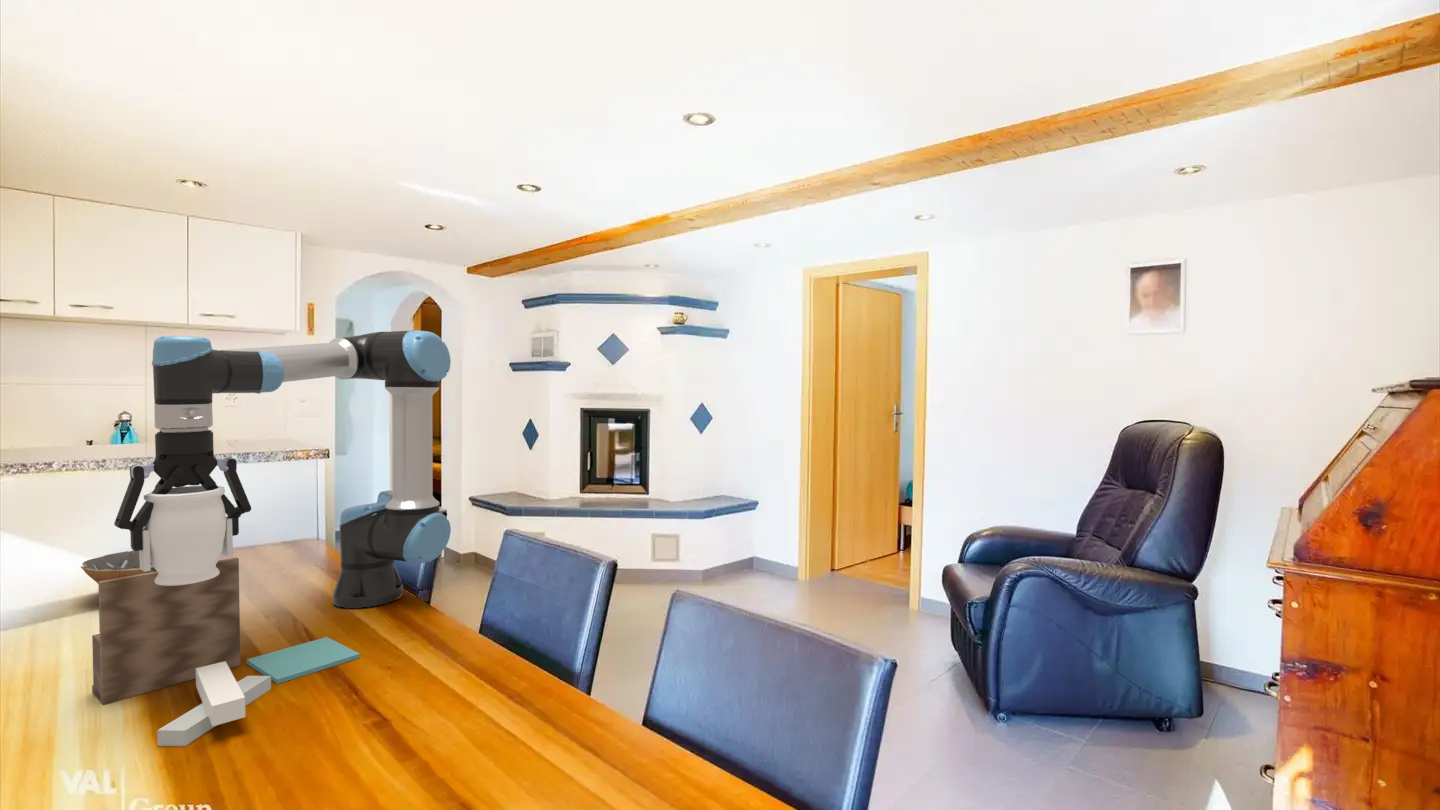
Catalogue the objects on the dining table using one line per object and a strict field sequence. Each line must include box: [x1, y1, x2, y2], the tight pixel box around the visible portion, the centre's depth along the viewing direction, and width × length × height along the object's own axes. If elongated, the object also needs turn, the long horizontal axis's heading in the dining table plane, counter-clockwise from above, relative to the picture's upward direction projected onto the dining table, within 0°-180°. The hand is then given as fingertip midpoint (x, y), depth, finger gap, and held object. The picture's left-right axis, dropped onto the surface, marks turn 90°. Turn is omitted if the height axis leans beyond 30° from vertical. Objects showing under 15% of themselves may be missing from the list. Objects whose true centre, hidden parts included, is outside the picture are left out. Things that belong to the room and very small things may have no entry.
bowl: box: [80, 550, 156, 584], centre depth 163 cm, size 25×25×10 cm
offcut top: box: [195, 661, 246, 727], centre depth 105 cm, size 18×4×3 cm, turn 44°
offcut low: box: [156, 675, 272, 747], centre depth 105 cm, size 18×4×3 cm, turn 179°
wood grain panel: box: [91, 557, 241, 706], centre depth 117 cm, size 19×7×20 cm, turn 144°
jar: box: [143, 485, 227, 586], centre depth 111 cm, size 11×10×15 cm
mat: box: [246, 636, 361, 685], centre depth 125 cm, size 14×14×1 cm
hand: (188, 562), depth 111 cm, fingers closed on jar, 10 cm apart
